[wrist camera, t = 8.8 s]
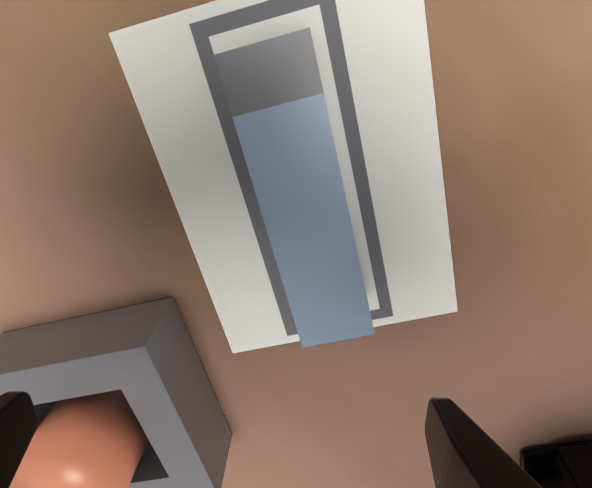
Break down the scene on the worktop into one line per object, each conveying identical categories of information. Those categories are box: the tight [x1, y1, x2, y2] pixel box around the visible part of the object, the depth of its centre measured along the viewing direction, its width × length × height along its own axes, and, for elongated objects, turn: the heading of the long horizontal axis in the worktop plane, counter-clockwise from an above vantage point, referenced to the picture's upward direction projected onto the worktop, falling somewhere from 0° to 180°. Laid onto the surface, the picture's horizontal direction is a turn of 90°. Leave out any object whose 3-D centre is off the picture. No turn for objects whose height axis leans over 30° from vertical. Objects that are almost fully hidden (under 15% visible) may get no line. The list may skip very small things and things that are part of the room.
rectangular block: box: [214, 27, 375, 348], centre depth 17 cm, size 12×3×3 cm, turn 14°
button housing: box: [0, 297, 232, 488], centre depth 22 cm, size 10×10×4 cm
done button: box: [9, 390, 149, 488], centre depth 20 cm, size 5×5×4 cm
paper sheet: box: [109, 0, 458, 353], centre depth 18 cm, size 16×12×1 cm
